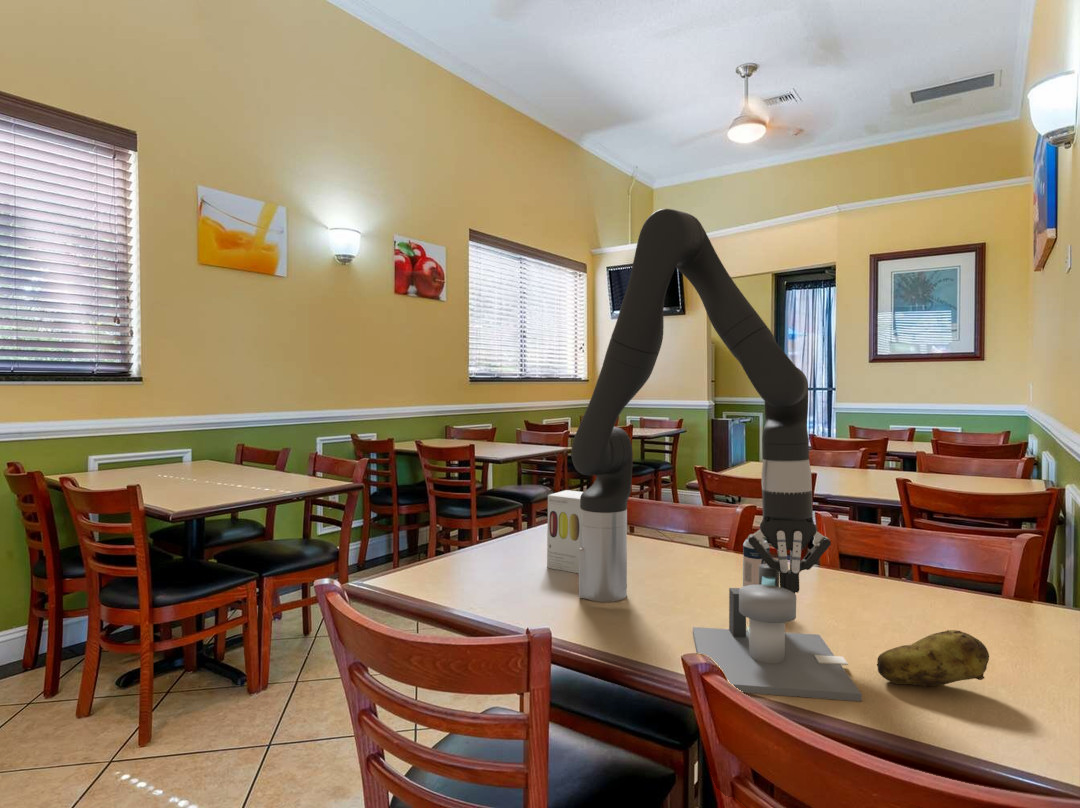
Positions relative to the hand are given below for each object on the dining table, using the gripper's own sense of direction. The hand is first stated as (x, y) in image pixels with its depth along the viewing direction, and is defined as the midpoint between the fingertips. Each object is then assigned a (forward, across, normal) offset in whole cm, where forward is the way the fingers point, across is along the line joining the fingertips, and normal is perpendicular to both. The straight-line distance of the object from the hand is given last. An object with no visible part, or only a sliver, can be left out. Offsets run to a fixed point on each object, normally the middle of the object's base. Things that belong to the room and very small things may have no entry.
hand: (789, 594), depth 101 cm
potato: (+9, +17, -11) cm, 22 cm away
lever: (+5, -4, -5) cm, 8 cm away
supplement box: (+6, -43, +33) cm, 54 cm away
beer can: (+7, -4, +18) cm, 20 cm away
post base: (+8, -4, -9) cm, 13 cm away
